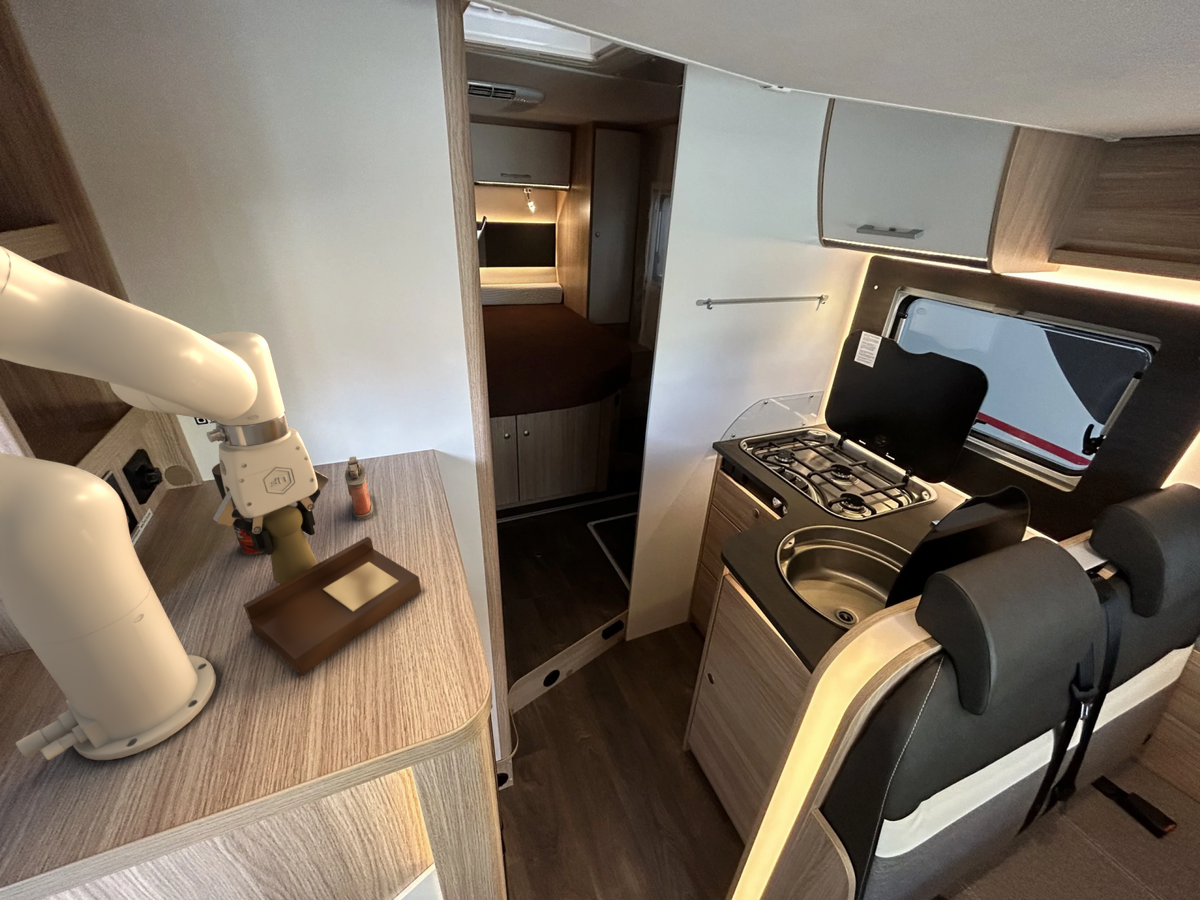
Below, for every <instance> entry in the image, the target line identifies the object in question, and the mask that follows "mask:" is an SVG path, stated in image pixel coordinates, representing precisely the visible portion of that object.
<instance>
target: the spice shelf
mask: <svg viewBox="0 0 1200 900" xmlns="http://www.w3.org/2000/svg"><path fill="white" fill-rule="evenodd" d="M317 563H318V564H316V565H315V566H313V567H311V568H309V569H307V570H306V571H304V572H302V573H300V574H298V575H296V576H295V577H293V578H291V579H289V580H287V581H285V582H284V583H282V584H278V585H276V586H274V587H272V588H271V589H268V590H267V591H266V592H264V593H262V594H260V595H258V596H256V597H254V598H253V599H251V600H249V601H247V602H245V603H244V604H243V605H242V606H243V609H244V610H245V613H246V616H247V619H248V621H249V623H250V626H251V628H252V630H253V633H254V634H255V635H256V636H257V637H258V638H260V639H261V640H262V641H263V642H264V643H265V644H266V645H268V647H270V648H271V650H273V651H274V652H275V653H276V654H277V655H278V656H279V657H280V658H281V659H283V661H285V662H286V663H287V664H288V665H289V666H290V667H291V668H292V669H293V670H294V671H295V672H296V673H297V674H299V676H301V677H303V675H305V674H306V673H308V672H310V671H311V670H312V669H314V668H315V667H316V666H318V665H319V664H320V663H322V662H323V661H325V660H327V659H328V658H329V657H331V656H332V655H334V654H335V653H336V652H338V651H339V650H340V649H342V648H343V647H345V646H346V645H348V644H349V643H351V642H352V641H353V640H355V639H356V638H358V637H360V635H362V634H363V633H365V632H366V631H368V630H369V629H371V628H372V627H374V626H375V625H376V624H378V623H379V622H381V621H382V620H383V619H385V618H386V617H388V616H389V615H391V614H392V613H393V612H394V611H396V610H397V609H399V608H400V607H402V606H404V604H406V603H408V602H409V601H410V600H412V599H413V598H415V597H416V596H418V595H419V594H420V593H422V588H421V582H420V578H419V576H418V575H417V574H415V573H413V572H412V571H410V570H409V569H407V568H405V567H404V566H402V565H400V564H399V563H397V562H396V561H394V560H393V559H391V558H389V557H387V556H386V555H384V554H382V553H381V552H380V551H378V550H376V549H374V546H373V541H372V538H371V537H369V536H366V537H364V538H362V539H360V540H358V541H356V542H355V543H353V544H351V545H349V546H348V547H345V548H344V549H341V550H340V551H338V552H337V553H334V554H333V555H331V556H329V557H327V558H326V559H324V560H322V561H320V562H317Z"/></svg>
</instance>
